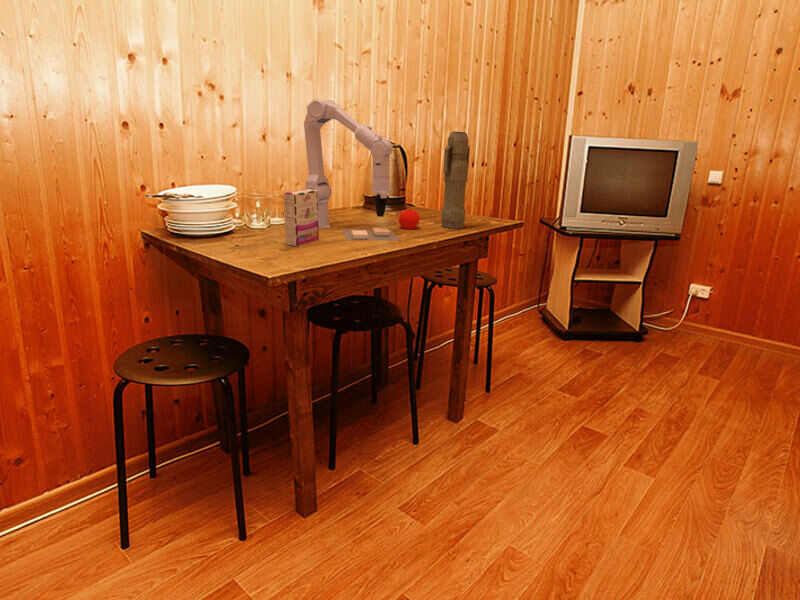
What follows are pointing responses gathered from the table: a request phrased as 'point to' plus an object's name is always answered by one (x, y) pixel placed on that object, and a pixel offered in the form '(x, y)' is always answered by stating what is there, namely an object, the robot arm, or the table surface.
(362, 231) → the tile
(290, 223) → the candy bar box
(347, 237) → the slate board
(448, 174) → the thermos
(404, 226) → the apple
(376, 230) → the tile
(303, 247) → the table surface
